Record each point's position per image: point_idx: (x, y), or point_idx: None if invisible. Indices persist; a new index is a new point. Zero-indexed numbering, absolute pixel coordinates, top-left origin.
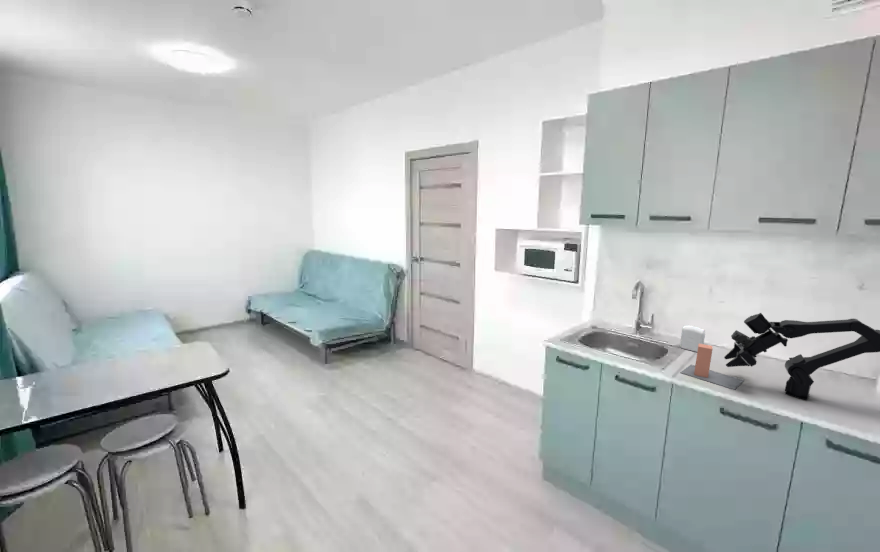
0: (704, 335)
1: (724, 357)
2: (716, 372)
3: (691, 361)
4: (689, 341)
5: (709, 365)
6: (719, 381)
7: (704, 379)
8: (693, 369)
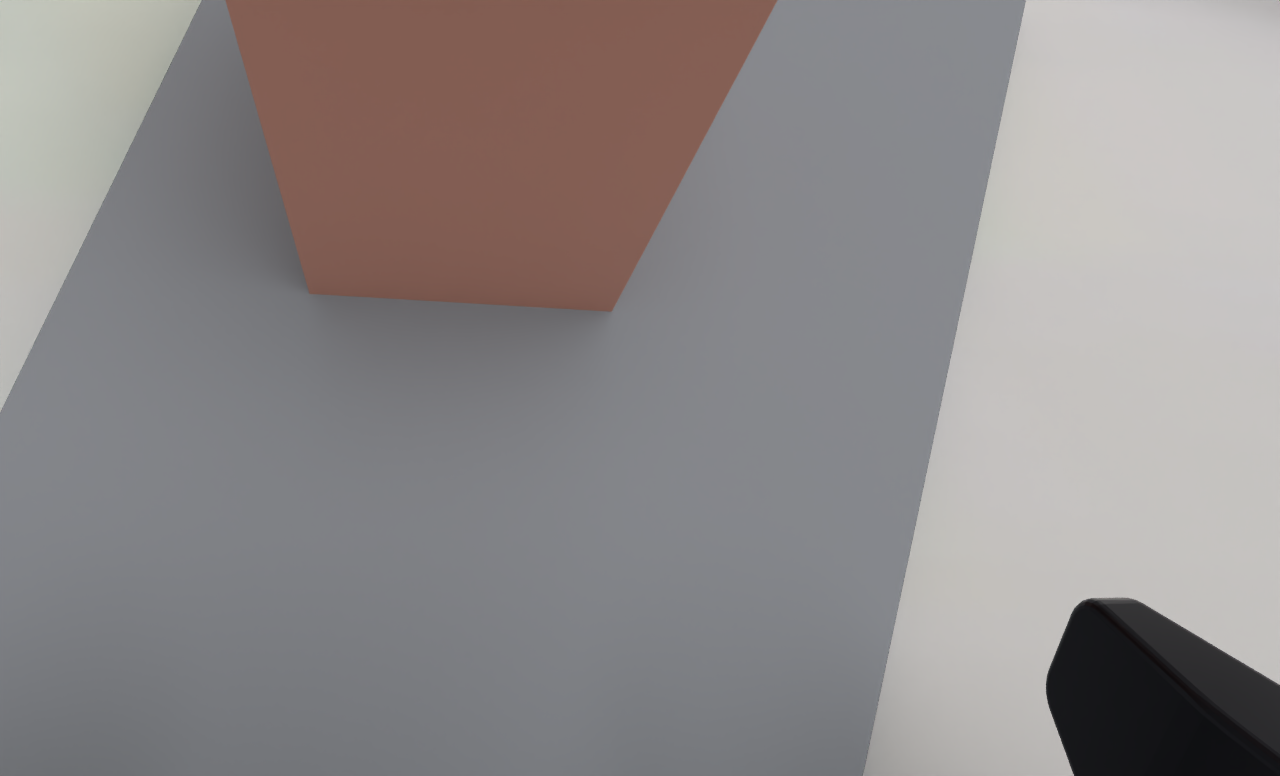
0: None
1: (1090, 613)
2: (864, 520)
3: (1263, 48)
4: None
5: (253, 87)
6: (183, 567)
7: (121, 200)
8: None
